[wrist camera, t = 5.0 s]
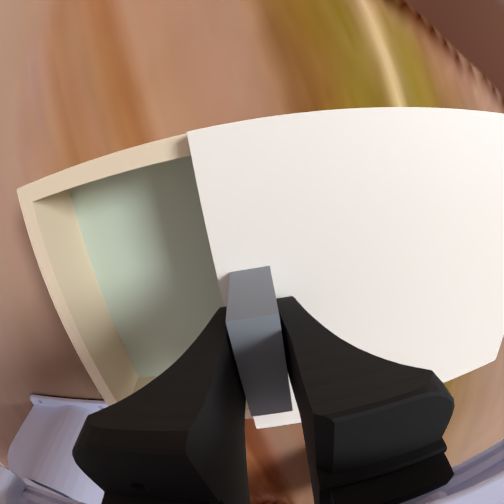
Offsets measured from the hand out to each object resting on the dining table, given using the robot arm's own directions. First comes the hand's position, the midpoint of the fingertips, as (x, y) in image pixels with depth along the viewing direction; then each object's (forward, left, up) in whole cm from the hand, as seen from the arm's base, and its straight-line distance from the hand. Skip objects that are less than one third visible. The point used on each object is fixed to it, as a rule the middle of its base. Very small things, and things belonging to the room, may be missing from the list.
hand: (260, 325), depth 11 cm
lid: (+6, 0, -1) cm, 6 cm away
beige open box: (-2, 0, -5) cm, 6 cm away
